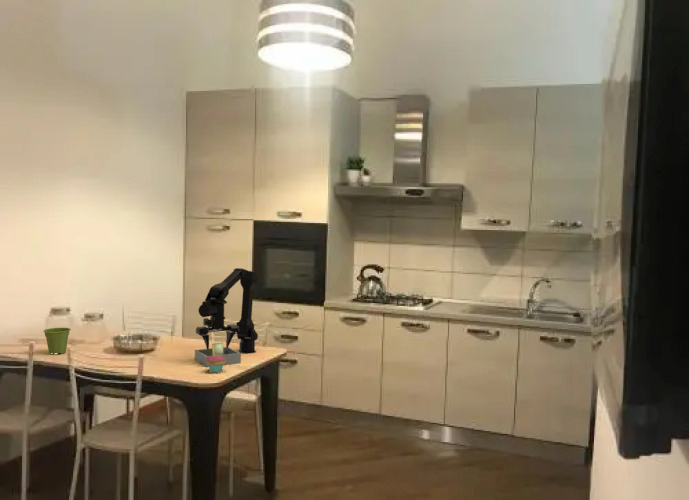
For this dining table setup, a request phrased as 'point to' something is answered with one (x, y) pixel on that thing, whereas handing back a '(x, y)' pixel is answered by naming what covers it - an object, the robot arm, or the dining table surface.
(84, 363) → the dining table surface
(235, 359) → the serving tray
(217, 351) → the green cylinder
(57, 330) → the plant pot
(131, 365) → the dining table surface
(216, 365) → the cupcake
